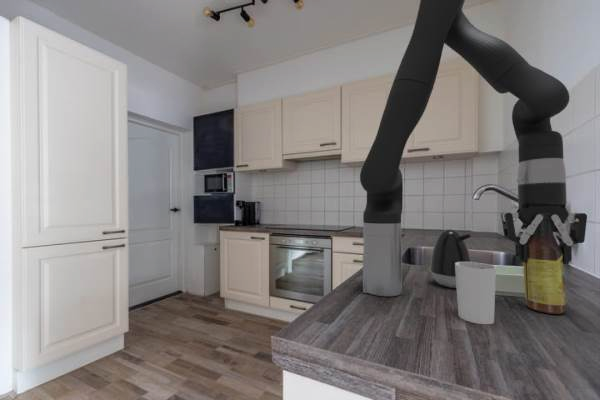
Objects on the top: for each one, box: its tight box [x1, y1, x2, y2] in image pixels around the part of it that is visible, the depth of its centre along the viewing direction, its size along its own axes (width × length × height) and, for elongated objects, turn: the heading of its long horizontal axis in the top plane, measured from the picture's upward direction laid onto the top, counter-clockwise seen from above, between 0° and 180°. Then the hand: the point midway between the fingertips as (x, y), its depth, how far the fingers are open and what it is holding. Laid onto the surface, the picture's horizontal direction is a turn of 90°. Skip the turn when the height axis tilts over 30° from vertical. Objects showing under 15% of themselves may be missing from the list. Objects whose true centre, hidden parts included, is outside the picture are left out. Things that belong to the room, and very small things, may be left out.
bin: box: [492, 264, 525, 298], centre depth 69 cm, size 12×12×5 cm
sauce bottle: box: [522, 214, 567, 315], centre depth 56 cm, size 7×6×20 cm
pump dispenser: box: [429, 228, 473, 289], centre depth 73 cm, size 10×10×15 cm
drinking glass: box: [455, 261, 496, 325], centre depth 52 cm, size 7×7×10 cm
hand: (542, 262), depth 56 cm, fingers closed on sauce bottle, 6 cm apart
